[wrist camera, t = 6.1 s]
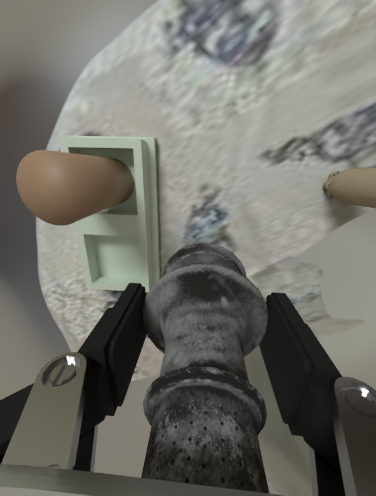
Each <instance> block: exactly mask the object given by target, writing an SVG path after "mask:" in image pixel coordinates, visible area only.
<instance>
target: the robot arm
mask: <svg viewBox="0 0 376 496" xmlns="http://www.w3.org/2000/svg"><path fill="white" fill-rule="evenodd" d="M145 298H146V292H145V286H142V284H141V283H129V284H128V285H127V287H126V288H125V290H124V291H123V293H122V295H121V296H120V298H119V299H118V301H117V302H116V304H115V305H114V307H113V308H108V309H107V310H106V312H105V313H104V315H103V316H102V317H101V319H100V320H99V322H98V323H97V325H96V326H95V328H94V329H93V330H92V332H91V333H90V335H89V336H88V338H87V339H86V341H85V342H84V343H83V345H82V346H81V348H80V349H79V351H78V352H77V353H76V352H69V353H65V354H62V355H59V356H57V357H55V358H53V359H52V360H51V361H49V362H48V363H46V364H45V366H44V367H43V368H42V369H41V370H40V372H39V373H38V375H37V377H36V380H35V383H33V384H32V385H29V386H27V387H26V388H24V389H22V390H20V391H18V392H16V393H14V394H12V395H10V396H8V397H6V398H4V399H2V400H0V496H376V390H375V389H374V388H372V387H370V386H369V385H367V384H366V383H364V382H362V381H360V380H357V379H355V378H351V377H342V376H341V374H340V373H339V371H338V370H337V368H336V367H335V365H334V364H333V362H332V361H331V359H330V358H329V356H328V355H327V353H326V352H325V350H324V349H323V347H322V346H321V344H320V343H319V341H318V340H317V338H316V337H315V335H314V334H313V332H312V331H311V329H310V328H309V326H308V325H307V324H306V323H304V321H303V320H302V318H301V317H300V315H299V313H298V312H297V310H296V309H295V307H294V306H293V304H292V303H291V301H290V300H289V298H288V297H287V295H286V294H285V293H274V292H273V293H271V295H268V296H267V299H266V300H265V302H266V304H267V310H268V323H267V327H266V332H265V335H264V337H263V339H262V340H261V342H260V344H259V345H258V346H257V347H256V348H255V349H254V350H253V351H252V352H251V353H250V354H249V355H247V356H245V357H244V360H245V365H246V370H247V374H248V379H249V383H250V384H251V385H253V386H254V387H255V388H256V389H257V390H258V391H259V393H260V395H261V396H262V398H263V399H264V402H265V406H266V411H267V419H266V423H265V426H264V427H263V429H262V430H261V432H260V433H259V435H258V440H259V445H260V450H261V455H262V460H263V465H264V470H265V474H266V476H267V478H268V479H269V481H270V482H271V483H272V485H273V486H274V488H275V489H276V490H277V492H278V493H279V494H280V495H274V494H267V493H259V492H251V491H243V490H235V489H227V488H219V487H211V486H203V485H195V484H187V483H179V482H171V481H163V480H155V479H146V478H138V477H129V476H121V475H112V474H104V473H95V472H94V464H95V453H96V442H97V432H98V424H99V423H100V422H102V421H103V420H104V419H105V416H106V415H109V416H114V414H115V411H116V409H117V406H121V405H122V404H123V401H124V399H125V395H126V393H127V390H128V386H129V384H130V381H131V378H132V375H133V373H134V370H135V367H136V364H137V361H138V358H139V355H140V352H141V350H142V347H143V344H144V341H145V338H146V335H147V332H146V330H145V328H144V325H143V305H144V301H145Z"/></svg>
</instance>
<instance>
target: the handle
mask: <svg viewBox="0 0 376 496" xmlns="http://www.w3.org/2000/svg"><path fill="white" fill-rule="evenodd" d="M323 187H324V188H325V189H326V191H327V192H326V193H327V195H329V196H331V197H335V198H337V199H339V200H341V201H344V202H347V203H350V204H354V205H358V206H364V207H371V208H376V168H357V169H349V170H345V171H342V172H339V171H338V172H334V173H331V174H330V175H329V178H328V180H327V181H326V183H324V185H323Z"/></svg>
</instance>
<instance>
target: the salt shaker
mask: <svg viewBox="0 0 376 496" xmlns="http://www.w3.org/2000/svg"><path fill="white" fill-rule="evenodd" d="M267 323H268V310H267V304H266V302H265V300H264V298H263V296H262V294H261V292H260V291H259V289H258V288H257V287H256V286H255V285H254V284H253V283H252V282H251V281H250V280H249V279H248V278H246V272H245V269H244V267H243V265H242V263H241V261H240V260H239V259H238V258H237V257H236V256H235V255H234V254H233V253H232V252H231V251H229V250H227V249H225V248H224V247H221V246H218V245H214V244H208V243H198V244H194V245H189V246H187V247H185V248H183V249H181V250H179V251H177V252H176V253H175V254H174V255H173V256H172V257H171V258H170V259H169V261H168V262H167V264H166V266H165V268H164V272H163V276H162V278H161V279H159V280H158V281H157V282H156V283H155V284H154V285H153V286H152V288H151V289H150V291H149V293H148V294H147V296H146V298H145V301H144V305H143V325H144V328H145V330H146V332H147V335H148V337H149V338H150V340H151V341H152V342H153V343H154V345H155V346H156V347H157V348H158V349H159V350H160V351H162V352H163V353H164V358H163V363H162V367H161V372H160V377H159V378H158V379H156V380H155V381H153V383H152V384H151V385H150V387H149V388H148V389H147V391H146V394H145V398H144V402H143V407H144V414H145V416H146V418H147V420H148V421H149V424H150V425H151V426H152V427H151V432H150V437H149V442H148V447H147V452H146V457H145V462H144V467H143V472H142V477H141V478H146V479H155V480H163V481H171V482H179V483H187V484H195V485H203V486H211V487H219V488H227V489H235V490H243V491H251V492H259V493H267V494H269V490H268V485H267V480H266V475H265V470H264V465H263V460H262V455H261V450H260V445H259V440H258V435H259V433H260V432H261V430H262V429H263V427H264V426H265V423H266V419H267V411H266V406H265V402H264V399H263V398H262V396H261V395H260V393H259V391H258V390H257V389H256V388H255V387H254V386H253V385H251V384H250V383H249V379H248V374H247V370H246V365H245V360H244V357H245V356H247V355H249V354H250V353H251V352H252V351H253V350H254V349H255V348H256V347H257V346H258V345H259V344H260V342H261V340H262V339H263V337H264V335H265V332H266V327H267Z"/></svg>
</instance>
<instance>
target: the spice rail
mask: <svg viewBox="0 0 376 496" xmlns="http://www.w3.org/2000/svg"><path fill="white" fill-rule="evenodd" d="M58 139H59V145H60V150H61V152H57V151H48V150H38V151H34V152H32V153H29V154H28V155H26V156H25V157H24V158H23V159H22V161H21V162H20V164H19V167H18V169H17V175H16V181H17V187H18V191H19V194H20V196H21V198H22V200H23V202H24V203H25V205H26V206H27V207H28V209H29V210H30V211H31V212H32V213H33V214H34V215H36V216H37V217H38V218H40V219H41V220H43V221H45V222H47V223H50V224H54V225H68V224H71V223H74V224H75V230H76V235H77V240H78V245H79V251H80V256H81V261H82V267H83V272H84V277H85V283H86V288H87V289H101V290H117V291H124V290H125V288H126V287H127V285H128V284H129V283H141V284H142V286H145V292H149V291H150V289H151V288H152V286H153V285H154V284H155V283H156V282H157V281H158V280H159V279H160V256H159V224H158V192H157V160H156V138H154V137H105V136H63V138H58Z"/></svg>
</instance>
